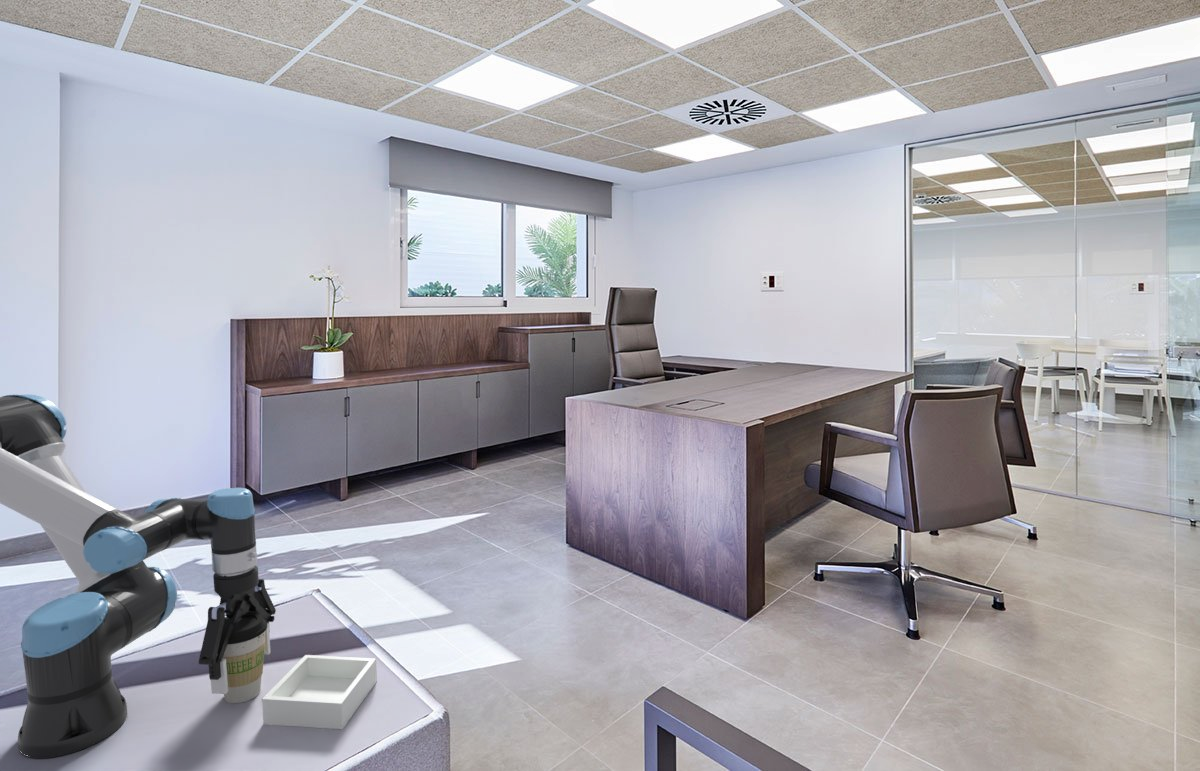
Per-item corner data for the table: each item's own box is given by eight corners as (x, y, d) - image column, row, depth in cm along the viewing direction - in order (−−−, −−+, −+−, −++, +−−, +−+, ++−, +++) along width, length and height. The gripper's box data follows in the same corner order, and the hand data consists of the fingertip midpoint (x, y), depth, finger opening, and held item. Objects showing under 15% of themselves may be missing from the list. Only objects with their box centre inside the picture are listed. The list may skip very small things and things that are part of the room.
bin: (263, 724, 117) (262, 698, 116) (306, 677, 132) (305, 654, 131) (342, 729, 116) (341, 703, 115) (376, 681, 131) (376, 658, 130)
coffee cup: (246, 712, 120) (241, 637, 119) (201, 705, 122) (196, 631, 120) (281, 682, 130) (278, 613, 128) (239, 676, 132) (235, 608, 130)
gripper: (210, 598, 110) (219, 712, 113) (290, 545, 135) (295, 640, 138) (169, 597, 111) (178, 710, 113) (256, 544, 136) (262, 638, 138)
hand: (242, 672), depth 125 cm, fingers open, 13 cm apart
